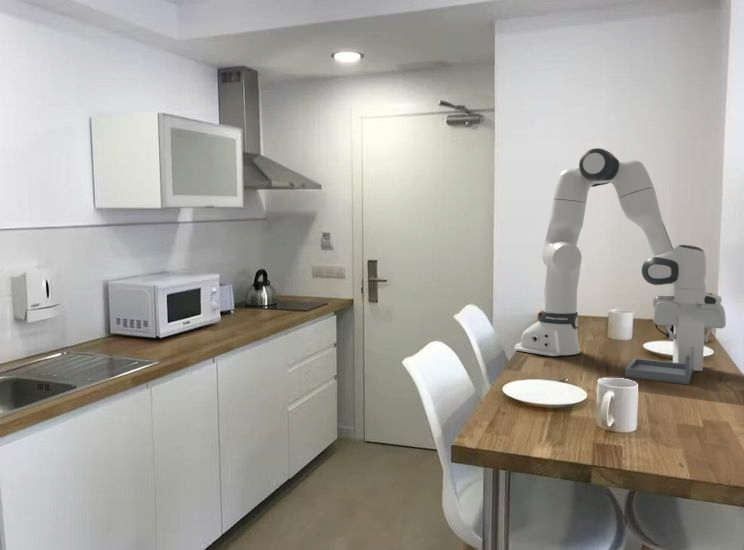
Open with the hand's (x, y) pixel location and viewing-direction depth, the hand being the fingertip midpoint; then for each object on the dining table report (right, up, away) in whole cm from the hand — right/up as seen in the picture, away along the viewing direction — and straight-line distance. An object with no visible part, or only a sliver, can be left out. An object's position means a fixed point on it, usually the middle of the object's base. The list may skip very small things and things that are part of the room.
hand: (688, 340), depth 191 cm
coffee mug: (+15, -6, +41) cm, 44 cm away
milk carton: (0, -9, +1) cm, 9 cm away
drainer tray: (-12, -10, -7) cm, 17 cm away
